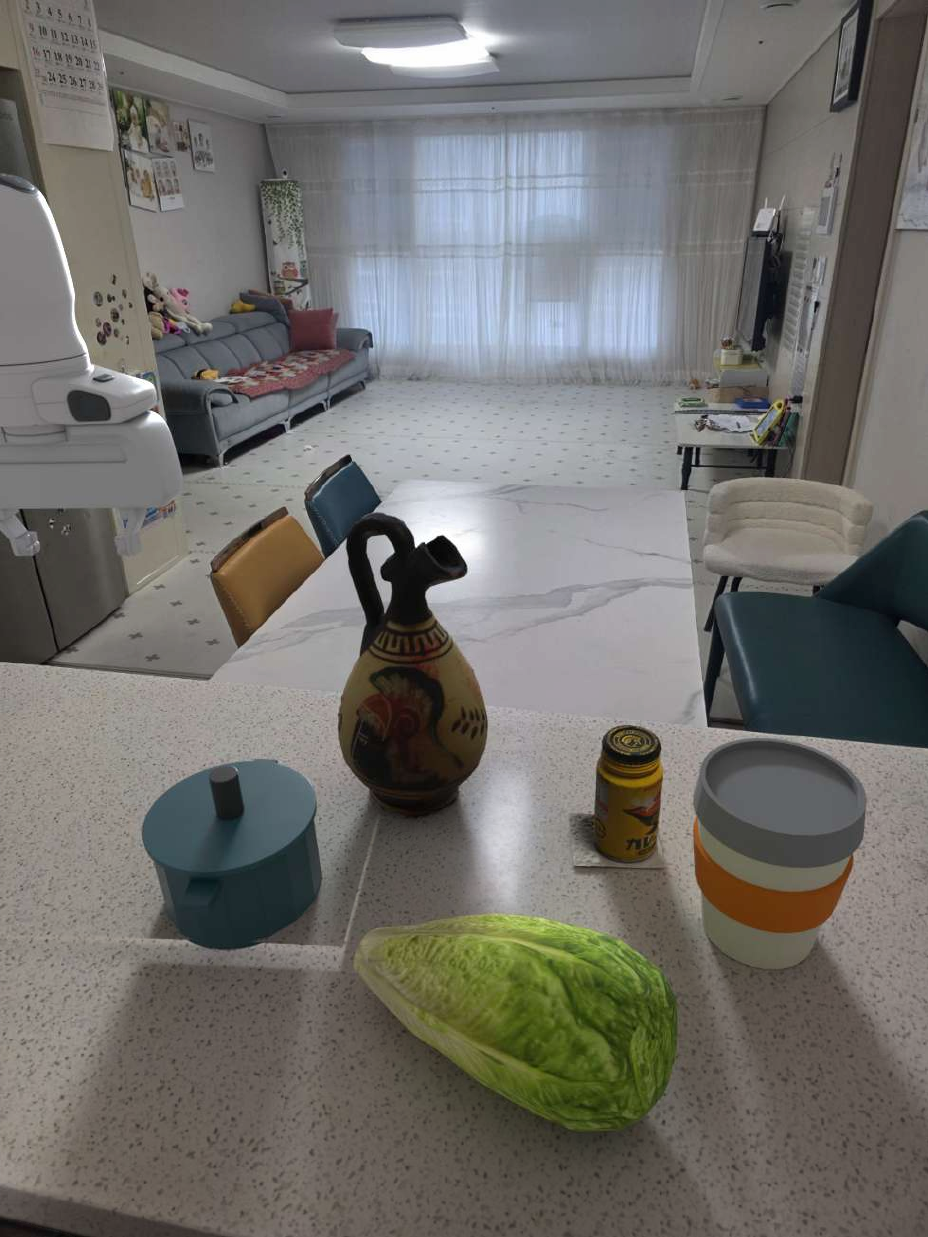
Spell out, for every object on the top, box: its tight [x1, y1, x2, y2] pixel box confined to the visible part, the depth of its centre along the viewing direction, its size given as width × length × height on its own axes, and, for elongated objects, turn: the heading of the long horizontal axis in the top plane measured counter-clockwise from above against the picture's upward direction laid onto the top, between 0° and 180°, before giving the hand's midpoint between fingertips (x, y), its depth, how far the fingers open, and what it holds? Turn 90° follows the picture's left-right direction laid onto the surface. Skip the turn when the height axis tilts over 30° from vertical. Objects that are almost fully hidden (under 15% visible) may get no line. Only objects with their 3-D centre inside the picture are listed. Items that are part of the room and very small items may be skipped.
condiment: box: [569, 724, 666, 869], centre depth 77 cm, size 7×8×12 cm
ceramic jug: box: [337, 511, 489, 819], centre depth 82 cm, size 17×15×30 cm
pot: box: [153, 758, 323, 950], centre depth 73 cm, size 14×19×8 cm
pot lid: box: [141, 760, 318, 877], centre depth 71 cm, size 15×15×5 cm
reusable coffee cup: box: [692, 737, 868, 970], centre depth 66 cm, size 13×13×15 cm
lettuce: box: [353, 913, 679, 1133], centre depth 59 cm, size 12×24×13 cm
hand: (79, 553), depth 73 cm, fingers open, 8 cm apart
